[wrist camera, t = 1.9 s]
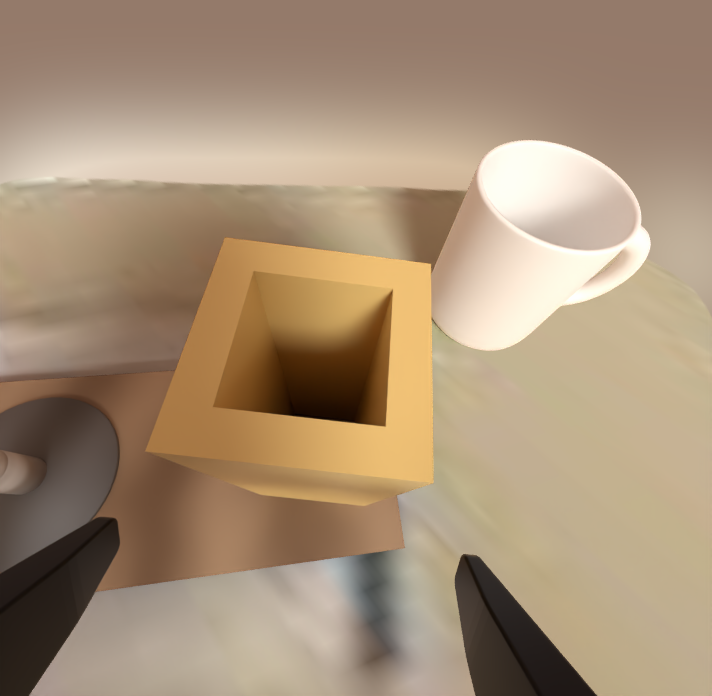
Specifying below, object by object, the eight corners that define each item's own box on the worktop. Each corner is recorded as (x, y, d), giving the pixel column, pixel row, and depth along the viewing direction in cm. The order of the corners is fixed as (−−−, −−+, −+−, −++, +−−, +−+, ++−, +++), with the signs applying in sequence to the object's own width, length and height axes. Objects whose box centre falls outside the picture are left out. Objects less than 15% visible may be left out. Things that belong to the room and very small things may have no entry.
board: (373, 361, 23) (383, 329, 19) (401, 547, 18) (422, 554, 14) (-8, 388, 20) (-88, 356, 16) (-96, 616, 15) (-241, 650, 11)
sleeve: (364, 506, 18) (433, 483, 7) (260, 494, 18) (145, 451, 6) (372, 406, 21) (430, 263, 9) (281, 395, 21) (225, 237, 9)
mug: (564, 276, 28) (680, 158, 19) (587, 366, 24) (746, 274, 15) (422, 258, 28) (471, 130, 18) (423, 347, 24) (484, 241, 15)
